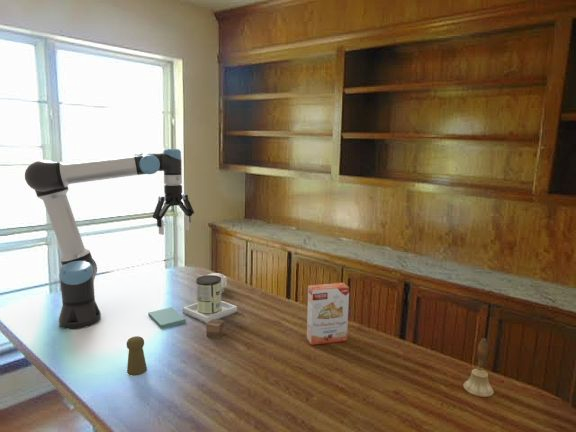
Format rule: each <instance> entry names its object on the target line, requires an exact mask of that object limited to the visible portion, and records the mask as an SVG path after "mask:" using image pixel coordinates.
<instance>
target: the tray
mask: <svg viewBox="0 0 576 432" xmlns="http://www.w3.org/2000/svg"><path fill="white" fill-rule="evenodd" d="M221 309H222V311H220V312H218V313H215V314H213V315H203V314H201V313H198V312H197V302H195V303H192V304H190V305H186V306H184V307H182V314H184V315H186V316H188V317H191V318H194V319H195V320H197V319H198V321H200V322H202V323H205V324H207V323H208V322H210V321H211V320H212V319H217V320H222V319H223V318H225V317H227V316H230V315H233V314H235V313H238V306H237V305H234V304H232V303H229V302H227V301H223V300H221Z"/></svg>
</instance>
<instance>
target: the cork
mask: <svg viewBox="0 0 576 432" xmlns="http://www.w3.org/2000/svg"><path fill="white" fill-rule="evenodd" d="M144 345H145V340H144V338H143V337H142V336H139V335H138V336H132V337H130V338H128V340H127V341H126V348H127V349H128V353H127V354H128V357H127V358H128V359H127V366H126V367H127V368H126V369H127V370H126V373H128V374H129V375H128V374H127V375H128V376H131V375H132V376H133V377H137V376H141V375H144V374H145V373H146V372H147V371H148V367H147V362H146V356H145V353H144Z"/></svg>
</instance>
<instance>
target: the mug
mask: <svg viewBox="0 0 576 432" xmlns="http://www.w3.org/2000/svg"><path fill="white" fill-rule="evenodd" d="M207 275H215V276H219V277H221V294H223V293H224V292H225V288H227V281H228V280H227V279H228V278H227V276H225V275H224V274H223V273H219V272H217V273H216V272H213V273H212V272H211V273H209V274H207Z"/></svg>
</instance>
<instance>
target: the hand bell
mask: <svg viewBox="0 0 576 432" xmlns="http://www.w3.org/2000/svg"><path fill="white" fill-rule="evenodd" d="M487 354H488V342H487V339H486V338H484V337H482V338H481V339H480V341H479V343H478V345H477V355H478V362H477V367H476V368H473V369H472V370H471V374H470V376H469V378H468V380H465V381H464V383H463V384H462V386H463V389H464V390H465V391H466V392H468V393H469V394H471V395H474V396H477V397H481V398H488V397H491V396H493V395H494V388H493V387H492V386H491V385H490V382H489V373H488V372H487V371H486V370H485V369H484V368H485V360H486V359H485V358H486V357H487Z"/></svg>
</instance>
